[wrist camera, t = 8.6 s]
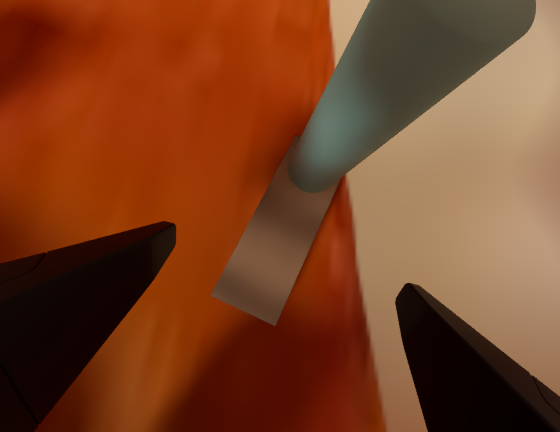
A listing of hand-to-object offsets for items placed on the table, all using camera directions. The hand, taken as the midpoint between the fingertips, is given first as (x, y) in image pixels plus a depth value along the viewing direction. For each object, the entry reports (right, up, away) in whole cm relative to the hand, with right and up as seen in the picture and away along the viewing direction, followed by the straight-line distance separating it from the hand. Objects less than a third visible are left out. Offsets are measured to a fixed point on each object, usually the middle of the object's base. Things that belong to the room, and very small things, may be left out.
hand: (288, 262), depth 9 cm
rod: (+2, +6, +10) cm, 11 cm away
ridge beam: (0, +1, +12) cm, 11 cm away
